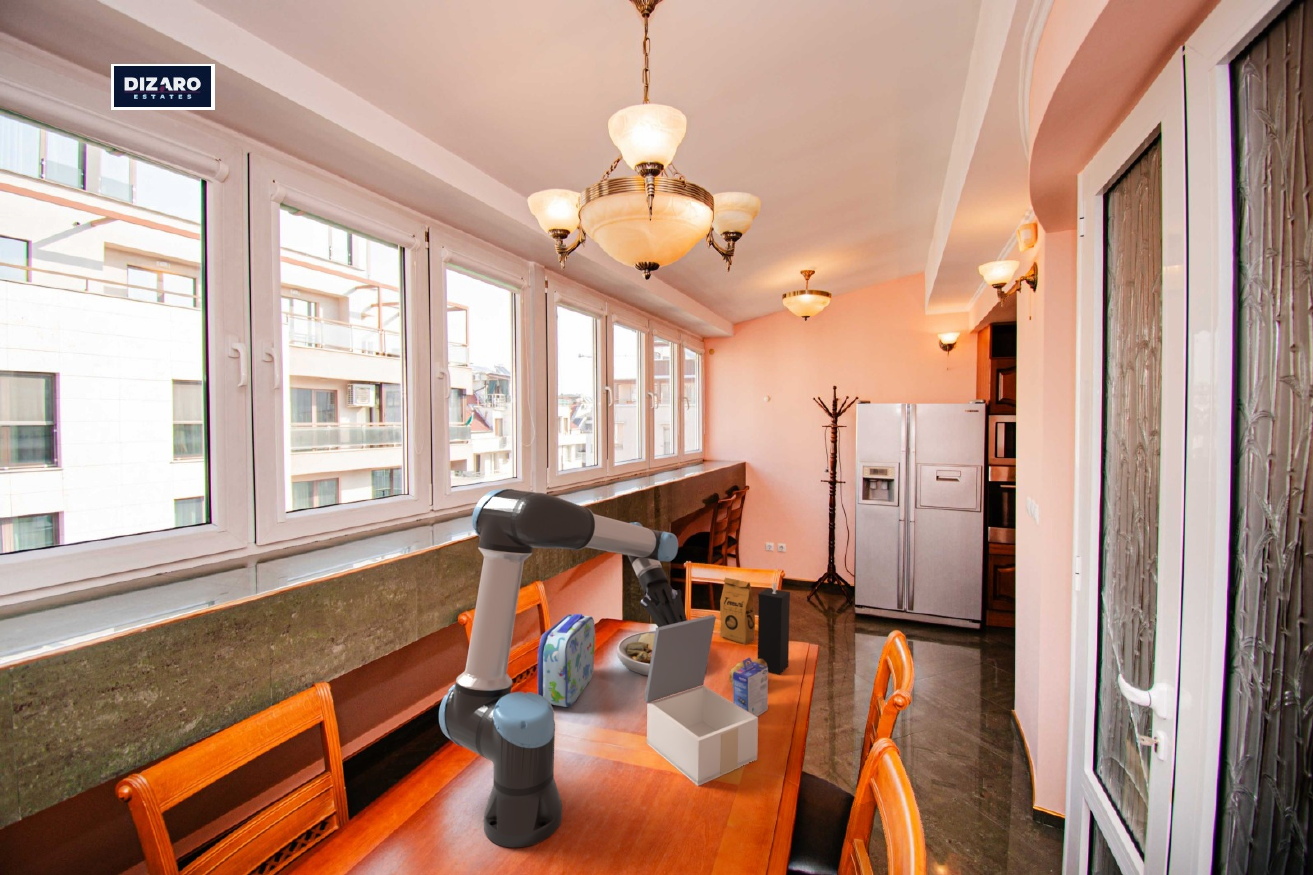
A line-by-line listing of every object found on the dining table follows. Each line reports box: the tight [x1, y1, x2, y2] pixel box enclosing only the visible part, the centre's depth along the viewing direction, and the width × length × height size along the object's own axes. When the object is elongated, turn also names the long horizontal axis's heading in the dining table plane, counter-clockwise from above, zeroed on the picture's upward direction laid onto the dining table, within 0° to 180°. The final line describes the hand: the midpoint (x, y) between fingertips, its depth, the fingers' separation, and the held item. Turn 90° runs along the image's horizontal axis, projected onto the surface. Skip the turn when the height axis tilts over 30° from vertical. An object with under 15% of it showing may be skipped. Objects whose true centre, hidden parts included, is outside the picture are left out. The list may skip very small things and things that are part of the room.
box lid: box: [644, 614, 717, 704], centre depth 145 cm, size 20×18×1 cm
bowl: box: [616, 630, 656, 677], centre depth 192 cm, size 30×30×8 cm
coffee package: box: [719, 577, 756, 646], centre depth 211 cm, size 10×12×22 cm
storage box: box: [646, 684, 759, 787], centre depth 138 cm, size 20×18×10 cm
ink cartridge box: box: [732, 657, 769, 717], centre depth 157 cm, size 10×6×14 cm, turn 137°
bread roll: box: [729, 658, 767, 688], centre depth 173 cm, size 13×10×8 cm
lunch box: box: [537, 613, 596, 708], centre depth 168 cm, size 26×11×21 cm, turn 168°
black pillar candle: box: [757, 582, 791, 676], centre depth 186 cm, size 8×8×28 cm
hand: (686, 652), depth 148 cm, fingers closed
